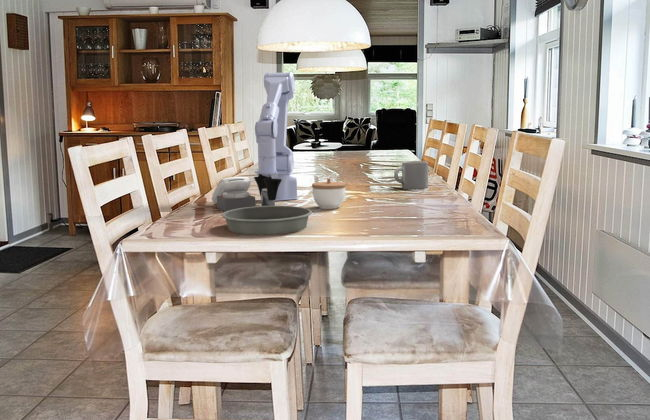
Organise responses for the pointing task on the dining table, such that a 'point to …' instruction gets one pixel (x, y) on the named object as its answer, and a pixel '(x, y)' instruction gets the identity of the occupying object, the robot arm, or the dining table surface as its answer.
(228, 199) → the octagonal frame panel
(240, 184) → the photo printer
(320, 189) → the lidded jar
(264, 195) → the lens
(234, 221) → the cake pan
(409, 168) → the coffee mug
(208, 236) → the dining table surface
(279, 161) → the robot arm
